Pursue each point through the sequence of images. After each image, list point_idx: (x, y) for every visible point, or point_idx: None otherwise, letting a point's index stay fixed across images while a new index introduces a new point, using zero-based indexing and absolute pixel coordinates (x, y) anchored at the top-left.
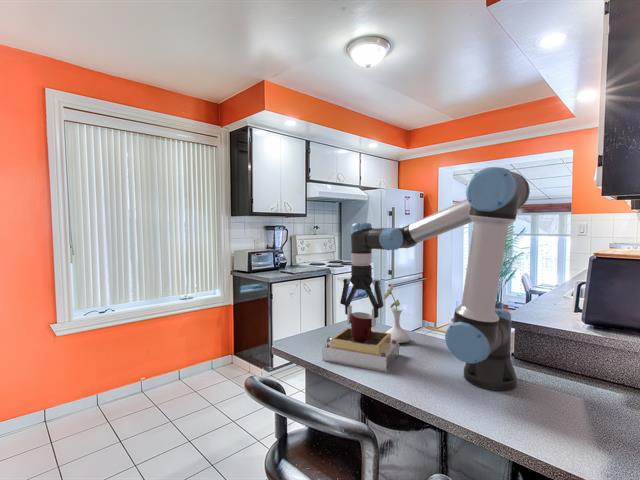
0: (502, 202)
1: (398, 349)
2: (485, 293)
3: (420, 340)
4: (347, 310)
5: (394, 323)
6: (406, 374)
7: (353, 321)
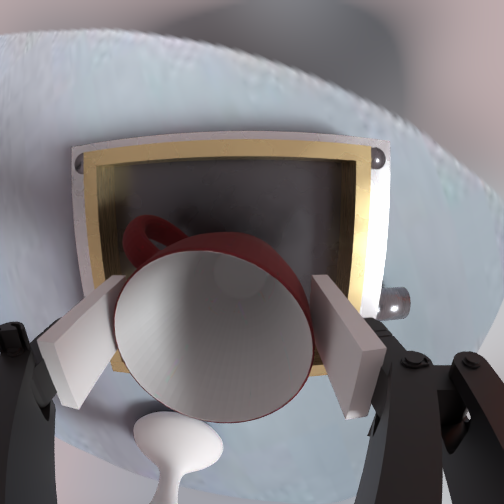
0: None
1: None
2: None
3: (125, 446)
4: (367, 326)
5: (175, 476)
6: (48, 173)
7: (264, 250)
